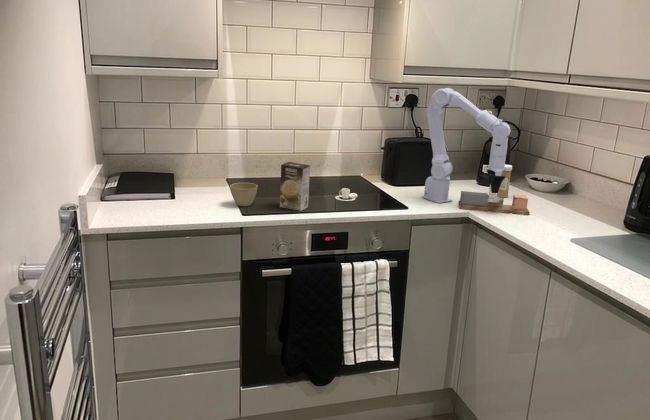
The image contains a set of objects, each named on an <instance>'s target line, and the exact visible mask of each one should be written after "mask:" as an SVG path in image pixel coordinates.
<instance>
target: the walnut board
mask: <svg viewBox="0 0 650 420" xmlns="http://www.w3.org/2000/svg"><path fill="white" fill-rule="evenodd" d="M457 203H458V208H459V209H460V210H466V211H467V210H468V211H477V210H478V212H479V211H480V212H488V211H491V212H490V213H499V212H500V213H501V214H510V213H512V214H511V215H522V216H523V215H524V216H530V211H529V209H528V208H527V209H526V211H521V210H514V209H513V207H512V204H504V203H503V205H495V204H488V205H487V207H480V206H469V205H460V200H458V202H457Z"/></svg>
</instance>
